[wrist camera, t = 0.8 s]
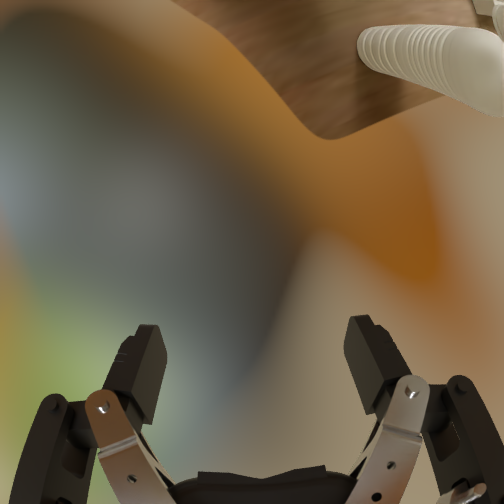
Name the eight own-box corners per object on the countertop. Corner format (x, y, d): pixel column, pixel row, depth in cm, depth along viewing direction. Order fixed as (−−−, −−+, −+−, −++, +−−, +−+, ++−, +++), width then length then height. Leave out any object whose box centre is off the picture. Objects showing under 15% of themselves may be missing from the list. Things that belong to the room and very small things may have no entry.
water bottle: (410, 54, 23) (571, 115, 5) (380, 81, 27) (533, 168, 8) (364, 5, 20) (525, -11, 1) (332, 34, 23) (480, 31, 5)
